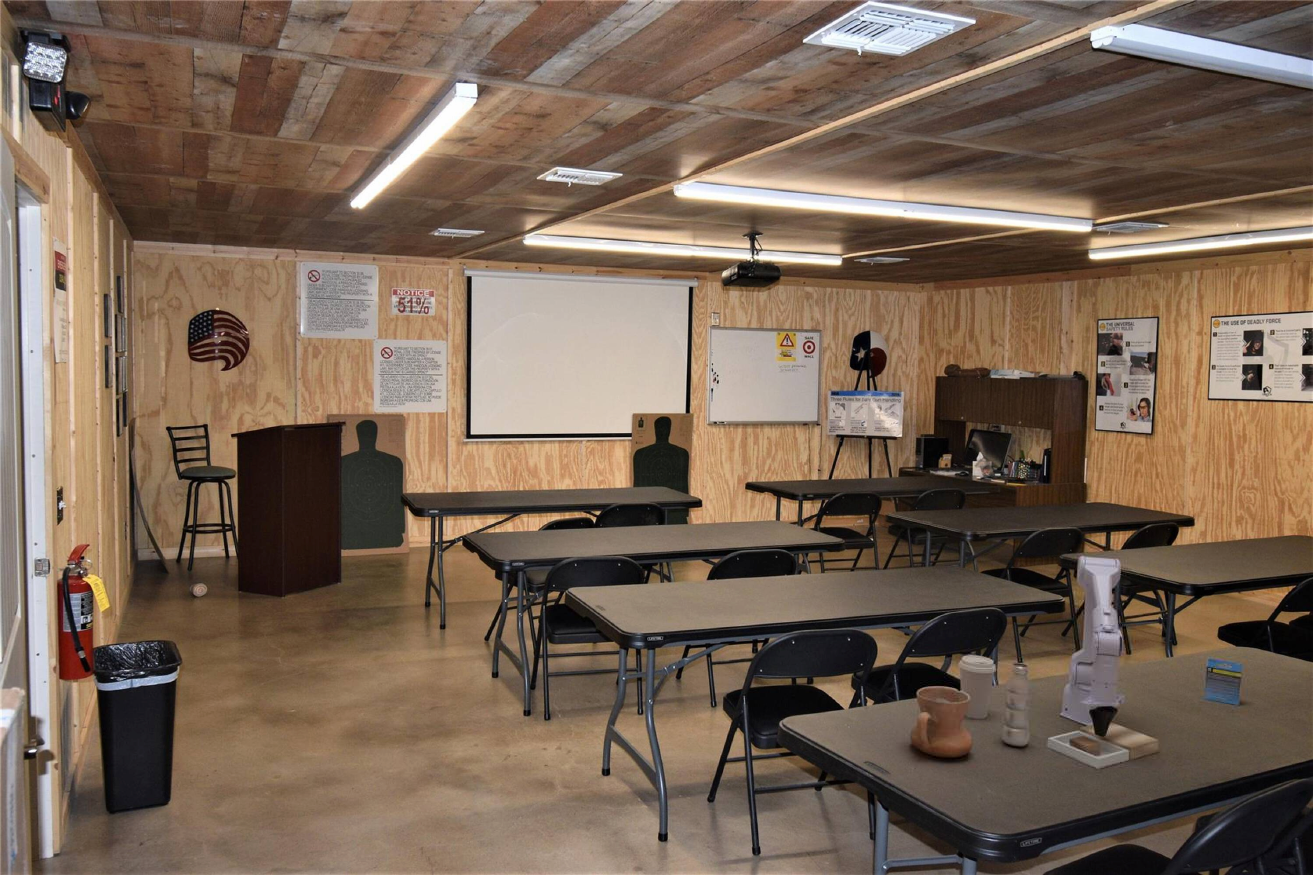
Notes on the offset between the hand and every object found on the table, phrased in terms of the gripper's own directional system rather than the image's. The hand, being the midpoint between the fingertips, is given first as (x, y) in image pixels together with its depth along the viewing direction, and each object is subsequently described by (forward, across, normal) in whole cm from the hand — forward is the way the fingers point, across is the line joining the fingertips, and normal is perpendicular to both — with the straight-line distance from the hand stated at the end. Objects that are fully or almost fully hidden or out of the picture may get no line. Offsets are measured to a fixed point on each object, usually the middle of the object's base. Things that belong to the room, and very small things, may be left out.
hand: (1100, 735), depth 242 cm
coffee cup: (+4, -9, +31) cm, 33 cm away
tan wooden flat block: (+4, +8, 0) cm, 8 cm away
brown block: (0, -6, 0) cm, 6 cm away
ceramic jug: (+4, -37, +17) cm, 41 cm away
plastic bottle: (+4, -16, +12) cm, 20 cm away
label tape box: (+4, +67, +8) cm, 68 cm away
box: (+4, -4, 0) cm, 6 cm away
